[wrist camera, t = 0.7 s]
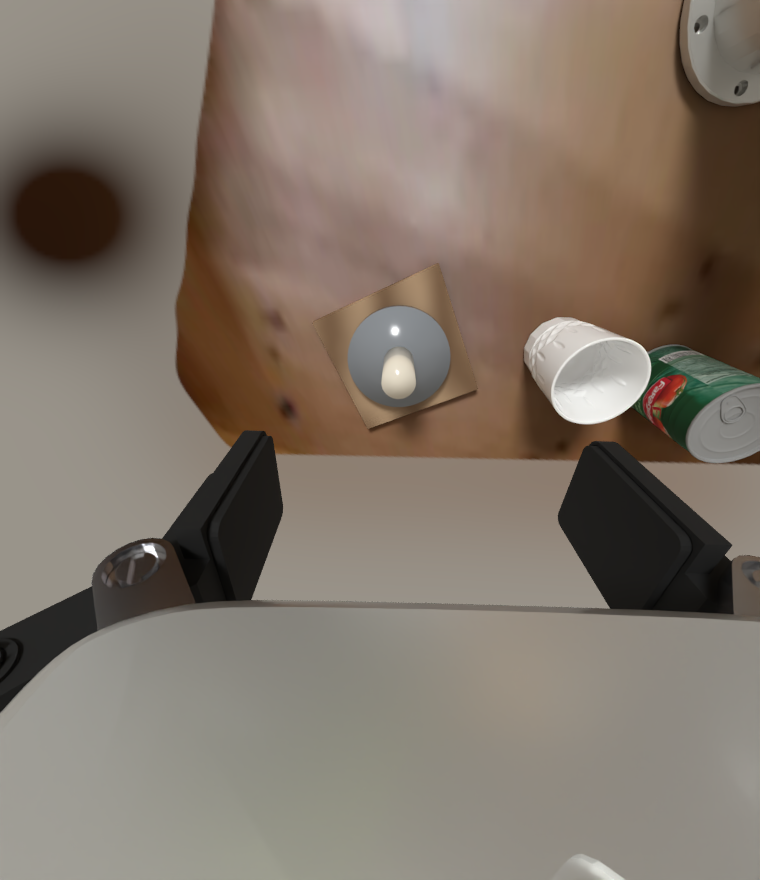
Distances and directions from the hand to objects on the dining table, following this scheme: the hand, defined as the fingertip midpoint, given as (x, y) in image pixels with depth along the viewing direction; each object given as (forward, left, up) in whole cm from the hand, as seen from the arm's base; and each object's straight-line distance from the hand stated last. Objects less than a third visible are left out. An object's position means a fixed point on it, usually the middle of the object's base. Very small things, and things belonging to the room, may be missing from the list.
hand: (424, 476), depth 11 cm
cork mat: (+3, +5, -30) cm, 30 cm away
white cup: (-13, +11, -30) cm, 34 cm away
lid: (+3, +5, -29) cm, 29 cm away
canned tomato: (-23, +19, -30) cm, 42 cm away
